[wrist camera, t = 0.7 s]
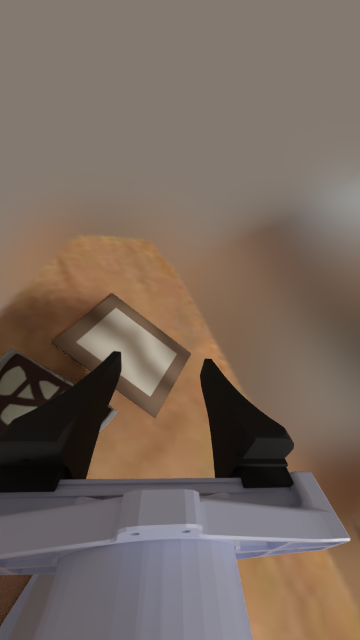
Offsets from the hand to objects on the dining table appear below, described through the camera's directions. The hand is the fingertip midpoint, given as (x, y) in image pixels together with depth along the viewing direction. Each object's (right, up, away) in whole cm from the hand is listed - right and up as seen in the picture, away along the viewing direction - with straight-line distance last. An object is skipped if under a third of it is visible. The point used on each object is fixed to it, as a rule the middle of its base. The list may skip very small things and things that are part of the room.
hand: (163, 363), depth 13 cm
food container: (-15, -9, +8) cm, 19 cm away
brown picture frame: (-8, -2, +15) cm, 17 cm away
